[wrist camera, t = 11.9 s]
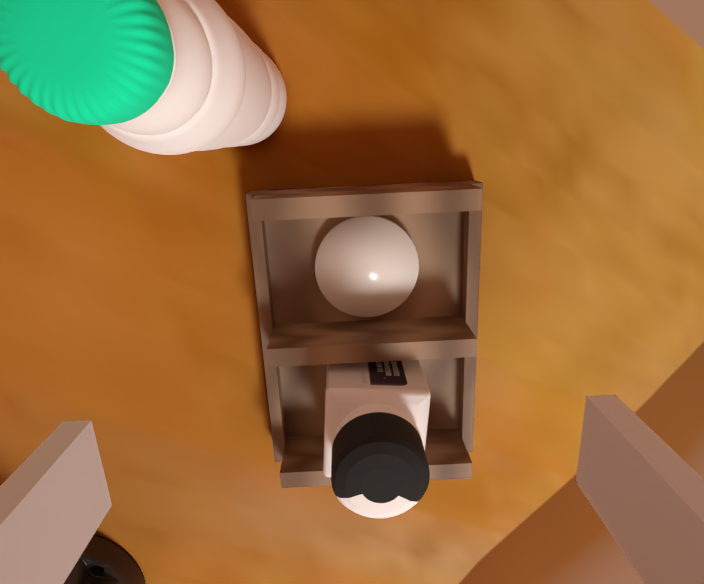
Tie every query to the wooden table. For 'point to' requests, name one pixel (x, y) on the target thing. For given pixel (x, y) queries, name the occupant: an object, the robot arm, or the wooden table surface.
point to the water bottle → (144, 71)
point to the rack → (367, 332)
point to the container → (376, 435)
